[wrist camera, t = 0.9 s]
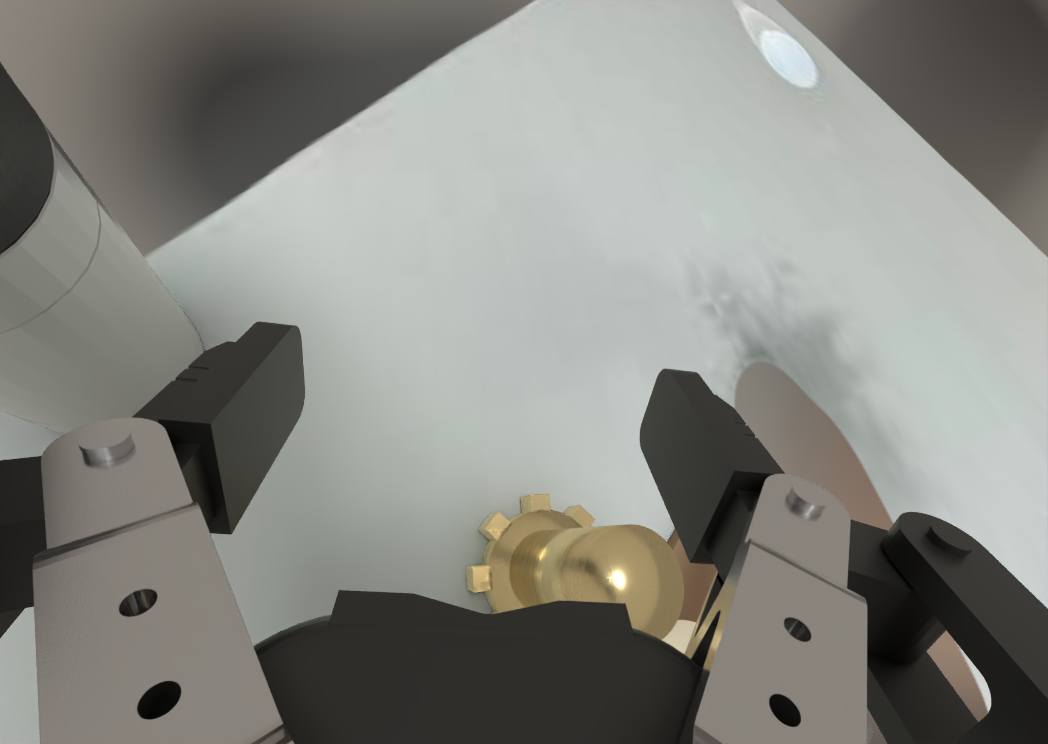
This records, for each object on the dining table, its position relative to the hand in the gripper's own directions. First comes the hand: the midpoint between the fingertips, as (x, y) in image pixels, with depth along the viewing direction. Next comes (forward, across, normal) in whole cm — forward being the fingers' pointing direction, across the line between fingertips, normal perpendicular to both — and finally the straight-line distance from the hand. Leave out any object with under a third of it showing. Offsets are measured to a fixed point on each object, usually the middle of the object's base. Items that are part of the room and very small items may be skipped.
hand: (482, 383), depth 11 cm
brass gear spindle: (+12, -6, +22) cm, 26 cm away
